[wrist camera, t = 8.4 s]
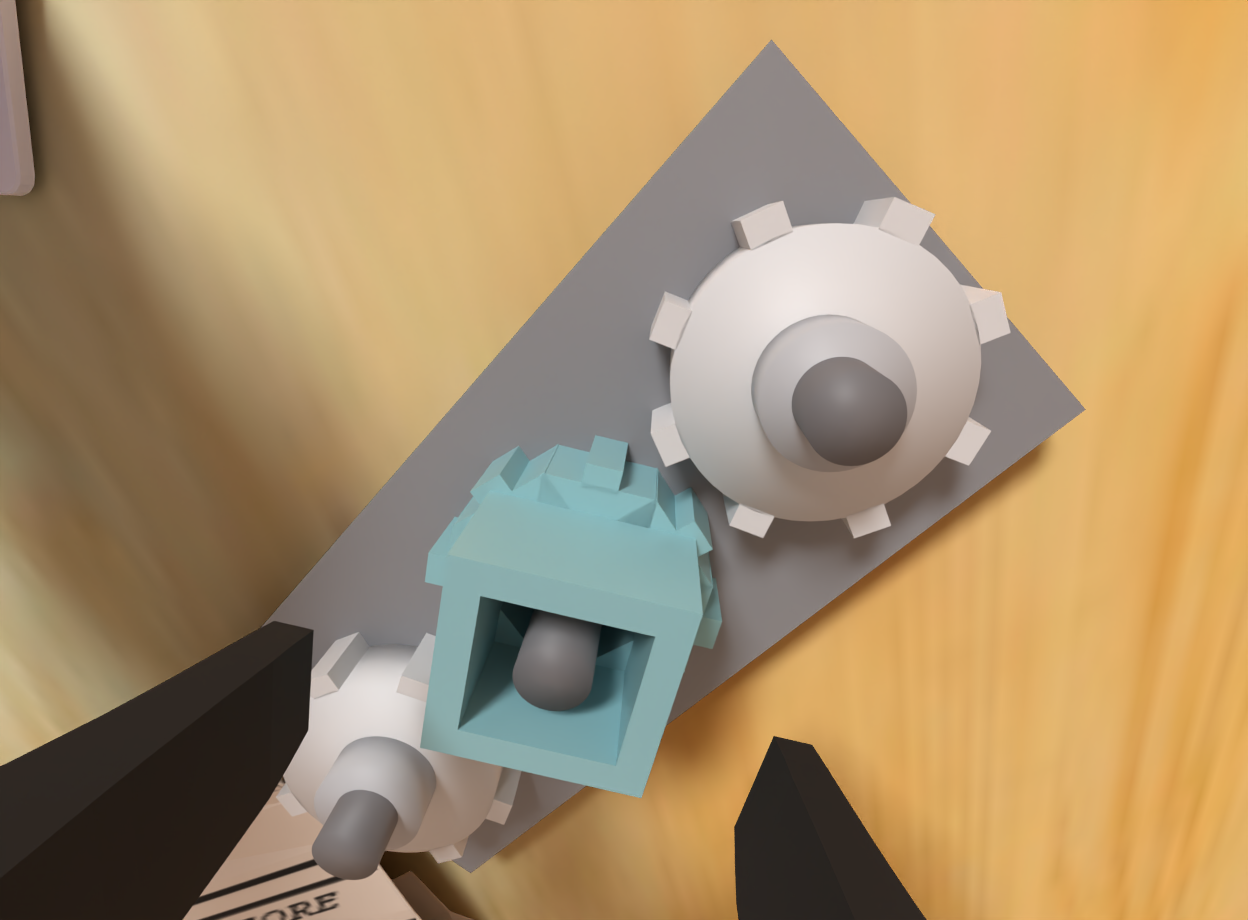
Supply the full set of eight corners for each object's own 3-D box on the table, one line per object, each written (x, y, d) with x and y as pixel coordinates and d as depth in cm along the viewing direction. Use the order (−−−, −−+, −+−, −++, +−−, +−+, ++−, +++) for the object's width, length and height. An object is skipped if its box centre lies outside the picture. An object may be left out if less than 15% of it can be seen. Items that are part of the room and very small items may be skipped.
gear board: (484, 825, 19) (426, 1019, 14) (240, 656, 17) (83, 815, 13) (1040, 390, 13) (1246, 478, 8) (758, 62, 11) (822, -53, 7)
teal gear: (437, 636, 15) (360, 775, 11) (470, 404, 13) (387, 479, 9) (677, 692, 15) (681, 848, 11) (751, 472, 13) (787, 574, 9)
